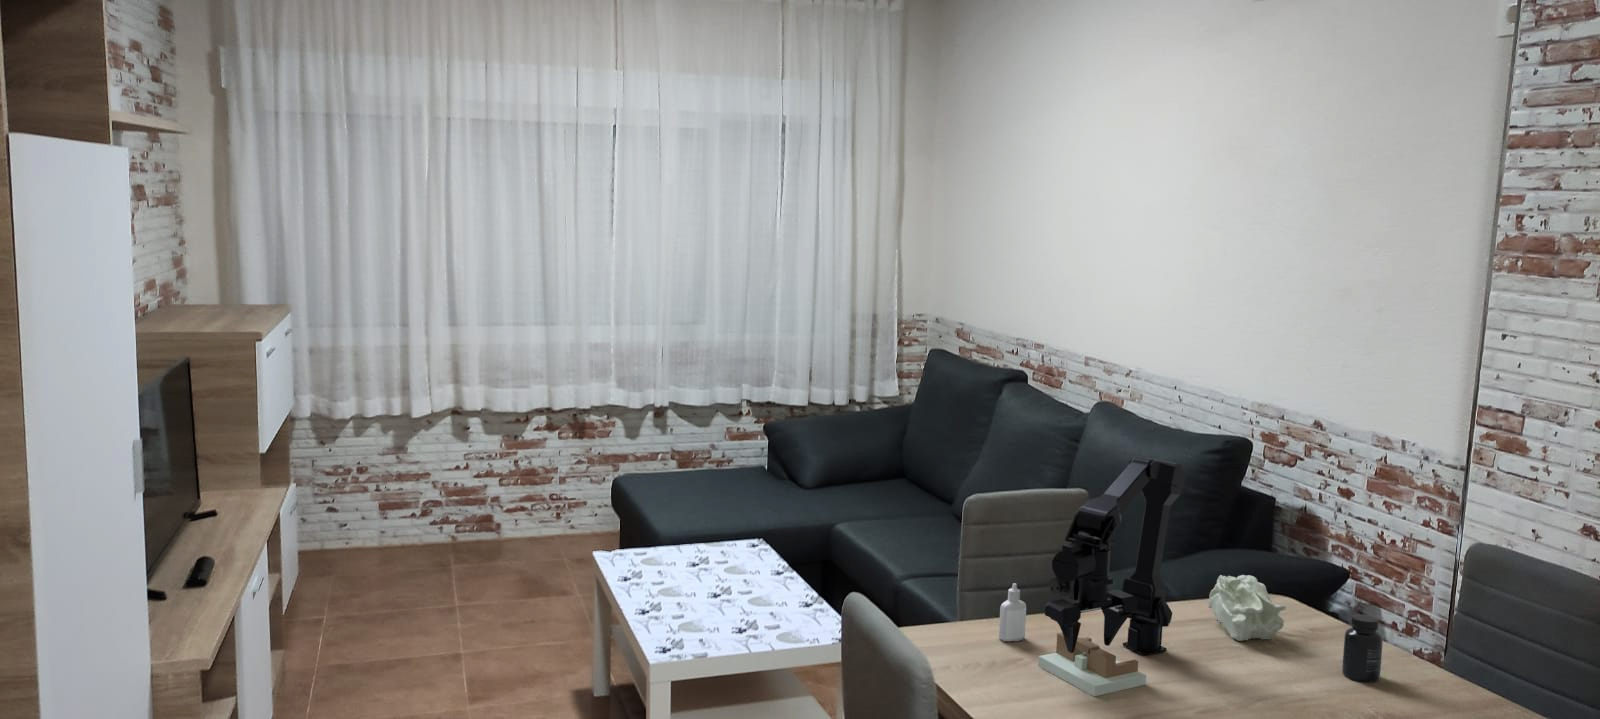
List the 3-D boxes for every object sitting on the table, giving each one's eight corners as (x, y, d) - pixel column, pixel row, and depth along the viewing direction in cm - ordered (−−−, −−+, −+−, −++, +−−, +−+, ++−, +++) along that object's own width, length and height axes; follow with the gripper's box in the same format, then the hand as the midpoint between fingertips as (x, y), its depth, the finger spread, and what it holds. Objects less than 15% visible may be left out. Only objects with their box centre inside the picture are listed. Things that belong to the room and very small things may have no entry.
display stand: (1088, 655, 236) (1089, 635, 236) (1145, 684, 222) (1147, 663, 222) (1038, 665, 230) (1039, 645, 230) (1094, 696, 216) (1095, 674, 216)
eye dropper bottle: (1026, 643, 242) (1029, 587, 241) (999, 642, 242) (1002, 586, 241) (1023, 635, 247) (1026, 581, 245) (996, 634, 247) (999, 580, 245)
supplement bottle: (1377, 672, 231) (1382, 615, 230) (1381, 685, 225) (1387, 626, 223) (1339, 667, 234) (1344, 610, 232) (1343, 680, 227) (1348, 621, 226)
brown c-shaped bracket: (1087, 646, 236) (1088, 625, 235) (1137, 671, 224) (1139, 649, 223) (1056, 652, 232) (1057, 631, 231) (1105, 678, 220) (1106, 656, 219)
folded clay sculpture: (1263, 669, 249) (1301, 618, 242) (1209, 655, 247) (1246, 603, 239) (1235, 610, 265) (1270, 560, 257) (1184, 597, 262) (1218, 546, 255)
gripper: (1101, 553, 235) (1096, 628, 237) (1028, 565, 226) (1024, 642, 228) (1141, 569, 225) (1136, 646, 227) (1066, 581, 216) (1062, 662, 218)
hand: (1088, 648), depth 225 cm, fingers open, 9 cm apart
